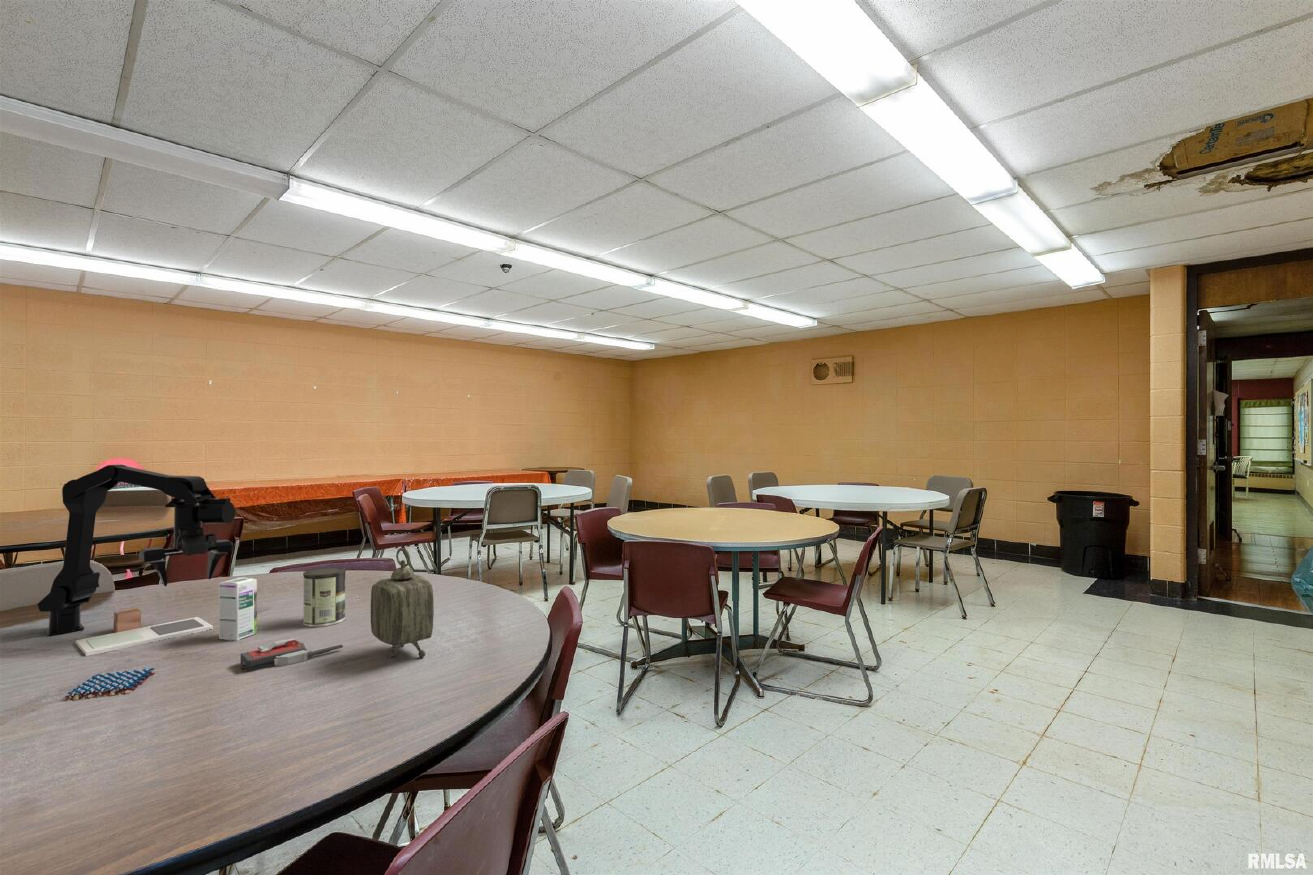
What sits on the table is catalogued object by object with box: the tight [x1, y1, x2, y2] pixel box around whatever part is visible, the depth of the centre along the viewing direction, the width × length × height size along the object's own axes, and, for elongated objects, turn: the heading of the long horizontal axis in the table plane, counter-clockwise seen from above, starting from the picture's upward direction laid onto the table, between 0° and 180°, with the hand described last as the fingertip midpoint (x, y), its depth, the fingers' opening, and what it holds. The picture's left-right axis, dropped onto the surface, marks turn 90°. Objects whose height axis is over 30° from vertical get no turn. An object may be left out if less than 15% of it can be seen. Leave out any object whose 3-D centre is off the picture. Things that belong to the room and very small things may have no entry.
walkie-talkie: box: [240, 637, 344, 672], centre depth 131 cm, size 9×4×20 cm
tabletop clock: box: [370, 547, 435, 658], centre depth 134 cm, size 14×9×25 cm, turn 47°
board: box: [75, 616, 214, 657], centre depth 145 cm, size 13×24×1 cm, turn 143°
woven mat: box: [65, 667, 156, 702], centre depth 116 cm, size 10×11×2 cm
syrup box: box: [218, 576, 258, 642], centre depth 145 cm, size 6×6×14 cm
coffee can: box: [302, 566, 347, 628], centre depth 158 cm, size 10×10×14 cm
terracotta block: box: [113, 607, 142, 633], centre depth 149 cm, size 4×4×5 cm
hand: (187, 582), depth 151 cm, fingers open, 9 cm apart
